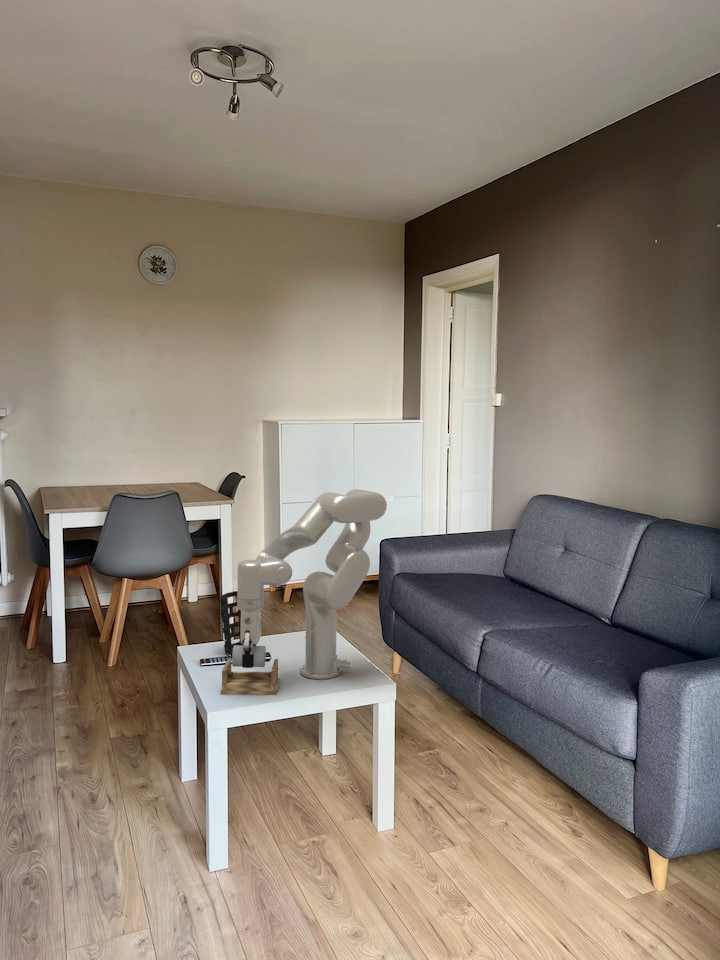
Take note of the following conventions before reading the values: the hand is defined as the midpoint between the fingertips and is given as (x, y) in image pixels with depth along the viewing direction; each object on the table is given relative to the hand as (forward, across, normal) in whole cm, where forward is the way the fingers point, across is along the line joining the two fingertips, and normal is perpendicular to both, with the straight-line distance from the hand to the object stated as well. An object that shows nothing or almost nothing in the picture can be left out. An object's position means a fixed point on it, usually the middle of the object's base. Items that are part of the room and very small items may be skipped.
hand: (249, 662), depth 211 cm
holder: (+8, +31, +10) cm, 34 cm away
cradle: (+8, 0, 0) cm, 8 cm away
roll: (+1, 0, 0) cm, 1 cm away
